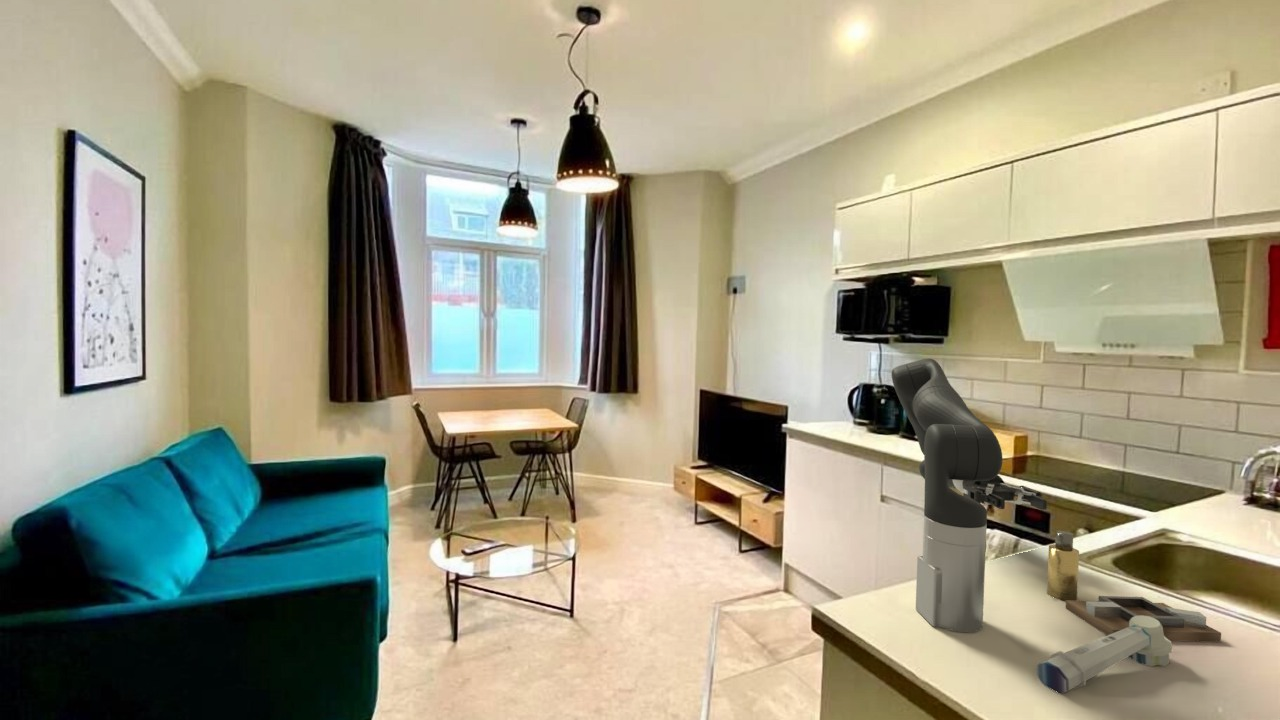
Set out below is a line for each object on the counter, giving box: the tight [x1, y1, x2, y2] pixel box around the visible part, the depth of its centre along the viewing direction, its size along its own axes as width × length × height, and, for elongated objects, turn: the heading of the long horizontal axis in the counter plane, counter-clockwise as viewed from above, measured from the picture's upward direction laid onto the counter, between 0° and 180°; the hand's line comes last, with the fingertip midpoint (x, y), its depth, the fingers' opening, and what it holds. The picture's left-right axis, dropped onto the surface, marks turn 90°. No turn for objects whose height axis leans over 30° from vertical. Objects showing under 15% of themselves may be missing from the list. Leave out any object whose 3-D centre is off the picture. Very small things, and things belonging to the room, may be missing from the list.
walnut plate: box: [1065, 600, 1222, 643], centre depth 93 cm, size 17×10×2 cm, turn 89°
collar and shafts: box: [1085, 595, 1207, 628], centre depth 93 cm, size 16×8×2 cm, turn 89°
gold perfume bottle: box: [1046, 530, 1080, 602], centre depth 103 cm, size 4×4×12 cm
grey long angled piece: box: [1036, 615, 1173, 694], centre depth 79 cm, size 5×7×25 cm
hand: (1023, 504), depth 114 cm, fingers open, 8 cm apart
